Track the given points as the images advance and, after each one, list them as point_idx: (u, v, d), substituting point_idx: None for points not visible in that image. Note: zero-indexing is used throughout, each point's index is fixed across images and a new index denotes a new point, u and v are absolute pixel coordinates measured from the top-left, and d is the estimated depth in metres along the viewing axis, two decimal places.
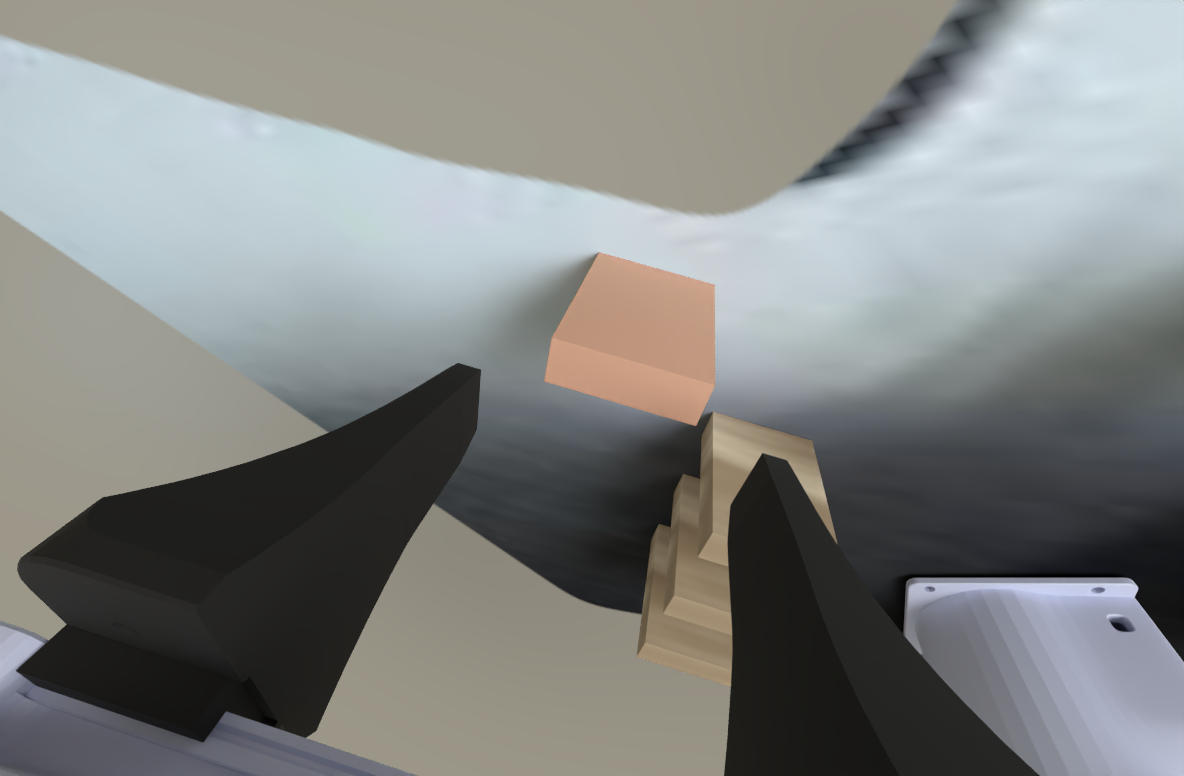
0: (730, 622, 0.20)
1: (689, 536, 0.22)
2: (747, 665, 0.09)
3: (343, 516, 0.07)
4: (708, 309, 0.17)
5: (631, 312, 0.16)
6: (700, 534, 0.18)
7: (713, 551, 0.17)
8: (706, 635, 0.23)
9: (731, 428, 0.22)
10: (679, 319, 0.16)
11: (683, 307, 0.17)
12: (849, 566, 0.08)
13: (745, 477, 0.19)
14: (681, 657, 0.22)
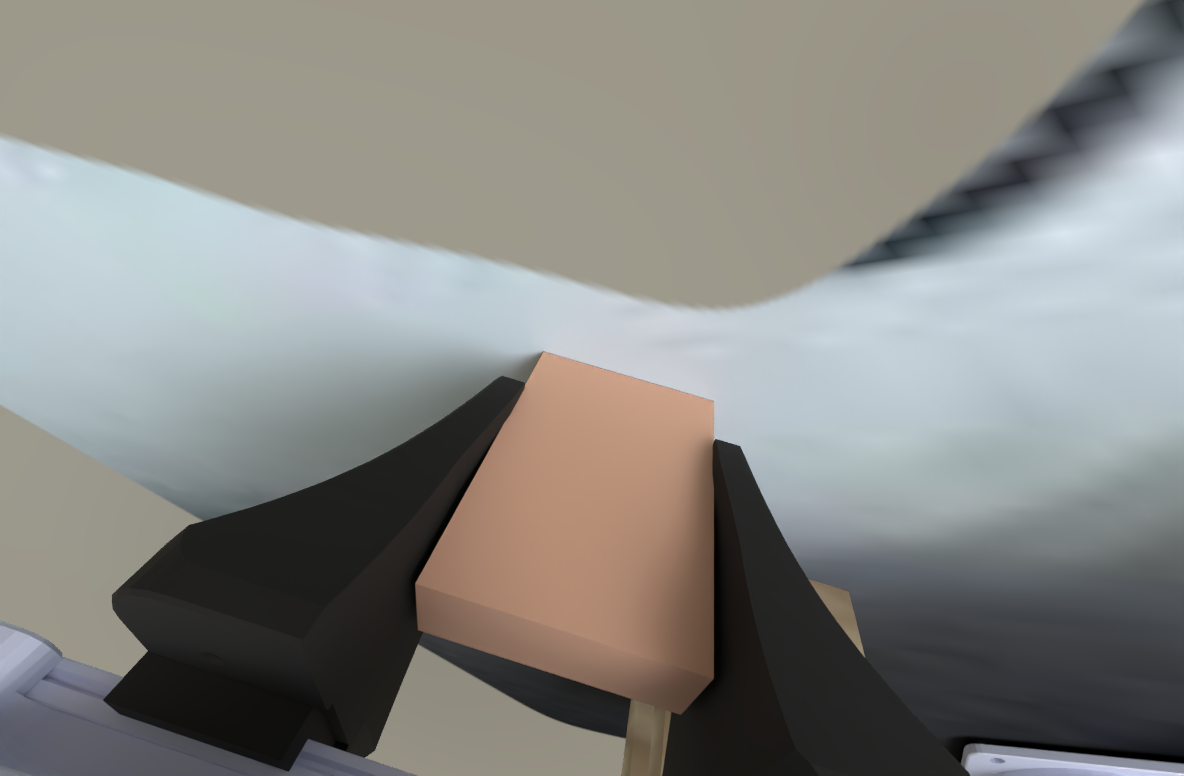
0: None
1: None
2: None
3: (413, 538, 0.07)
4: (704, 460, 0.11)
5: (576, 485, 0.10)
6: None
7: None
8: None
9: None
10: (655, 493, 0.10)
11: (664, 460, 0.11)
12: (786, 547, 0.08)
13: None
14: None
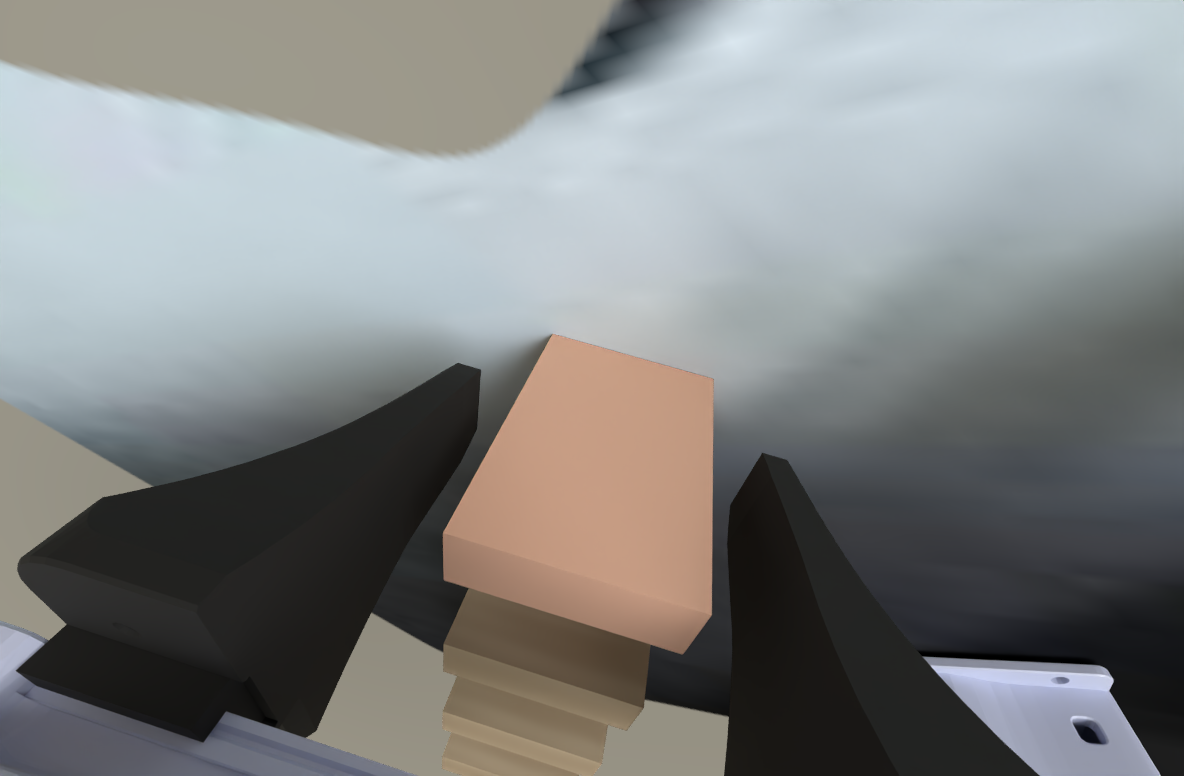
0: (527, 747, 0.14)
1: None
2: (747, 665, 0.09)
3: (343, 516, 0.07)
4: (703, 431, 0.12)
5: (586, 451, 0.10)
6: None
7: (458, 666, 0.12)
8: None
9: None
10: (658, 459, 0.11)
11: (667, 431, 0.11)
12: (849, 566, 0.08)
13: None
14: (492, 775, 0.17)
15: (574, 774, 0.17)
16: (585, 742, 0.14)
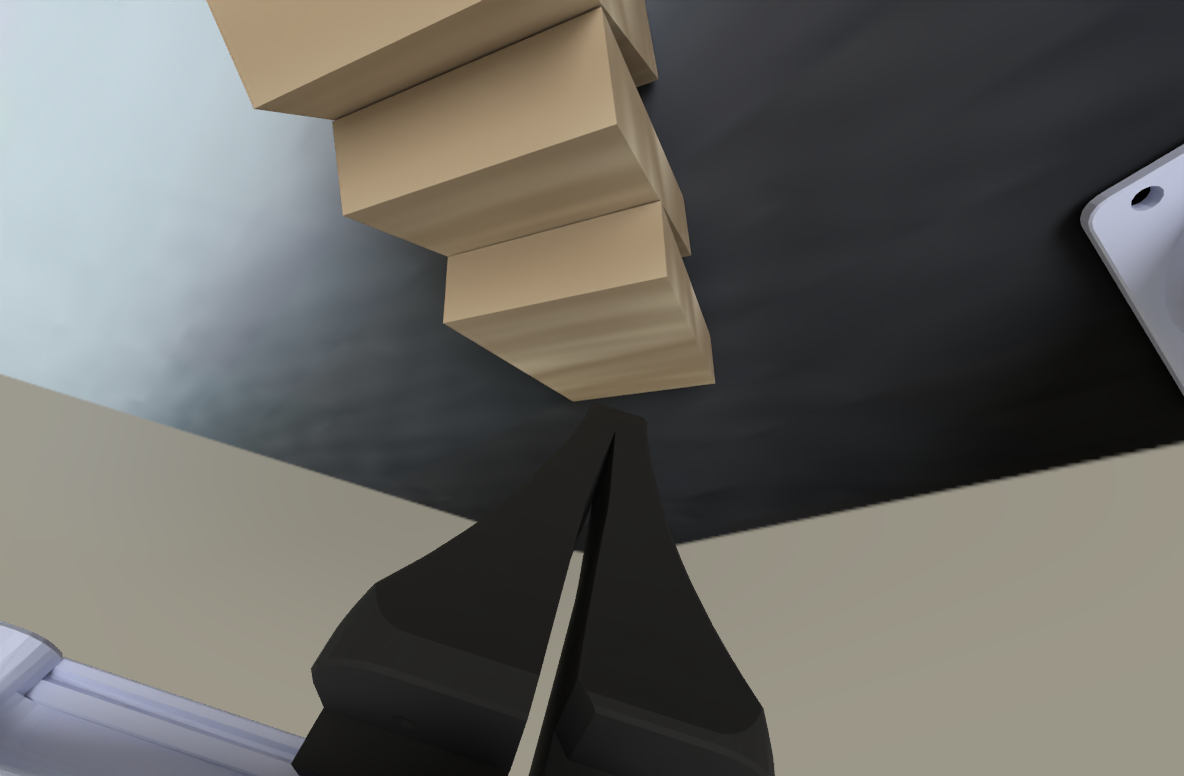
0: (471, 107, 0.07)
1: None
2: (574, 610, 0.09)
3: None
4: None
5: None
6: None
7: (252, 48, 0.06)
8: None
9: None
10: None
11: None
12: (657, 508, 0.08)
13: None
14: (521, 248, 0.10)
15: None
16: None
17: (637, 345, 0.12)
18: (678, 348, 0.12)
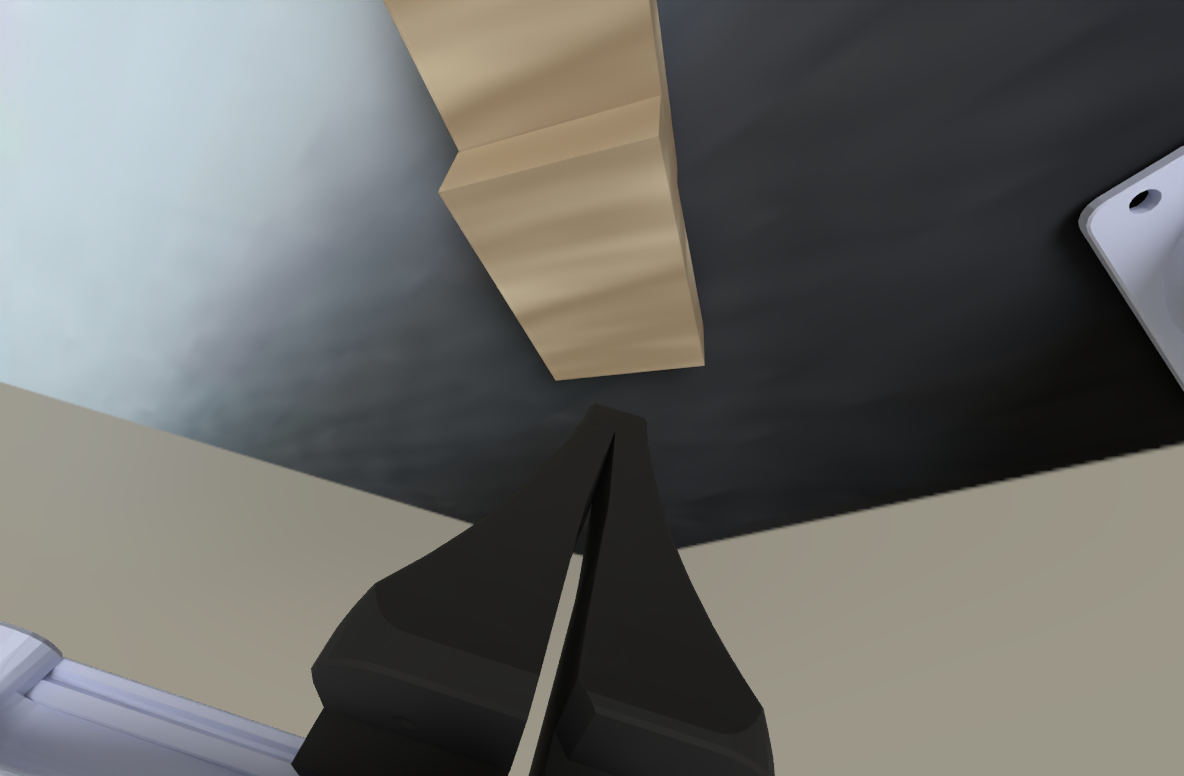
0: None
1: None
2: (574, 610, 0.09)
3: None
4: None
5: None
6: None
7: None
8: None
9: None
10: None
11: None
12: (657, 508, 0.08)
13: None
14: (527, 138, 0.10)
15: None
16: None
17: (625, 270, 0.11)
18: (667, 281, 0.12)
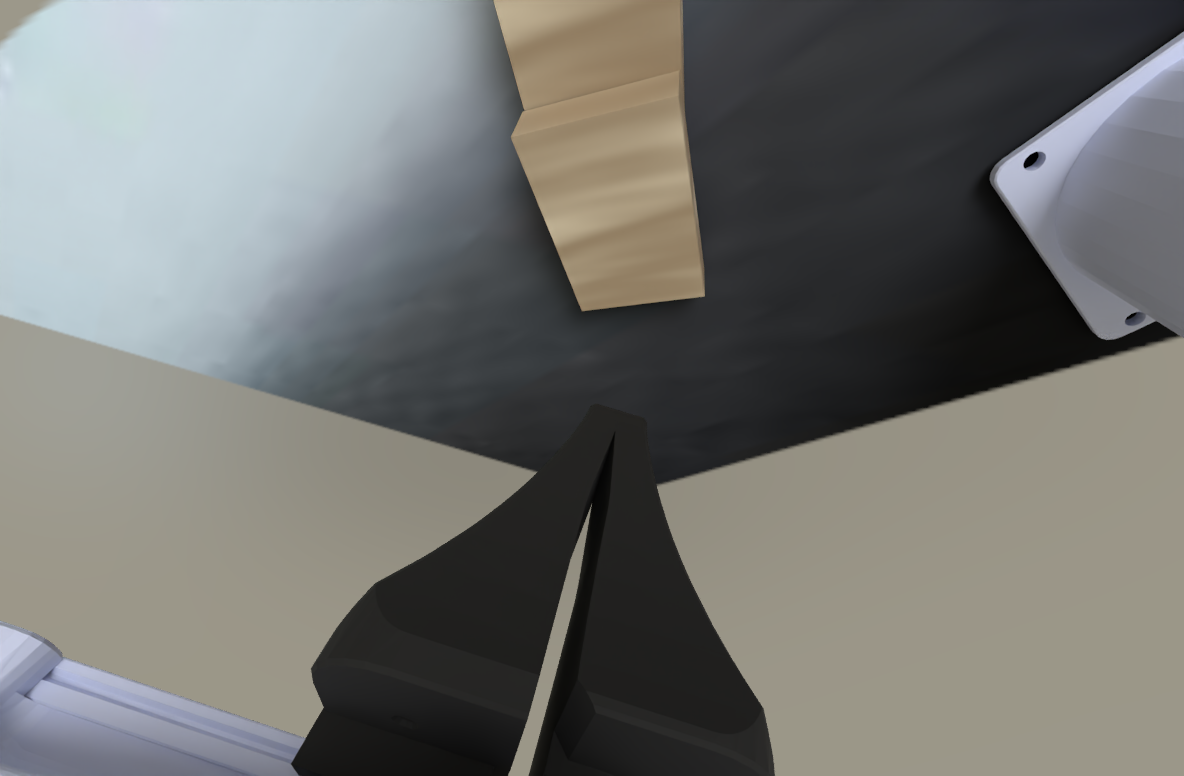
0: None
1: None
2: (574, 610, 0.09)
3: None
4: None
5: None
6: None
7: None
8: None
9: None
10: None
11: None
12: (657, 508, 0.08)
13: None
14: (578, 100, 0.14)
15: None
16: None
17: (647, 207, 0.15)
18: (678, 217, 0.15)
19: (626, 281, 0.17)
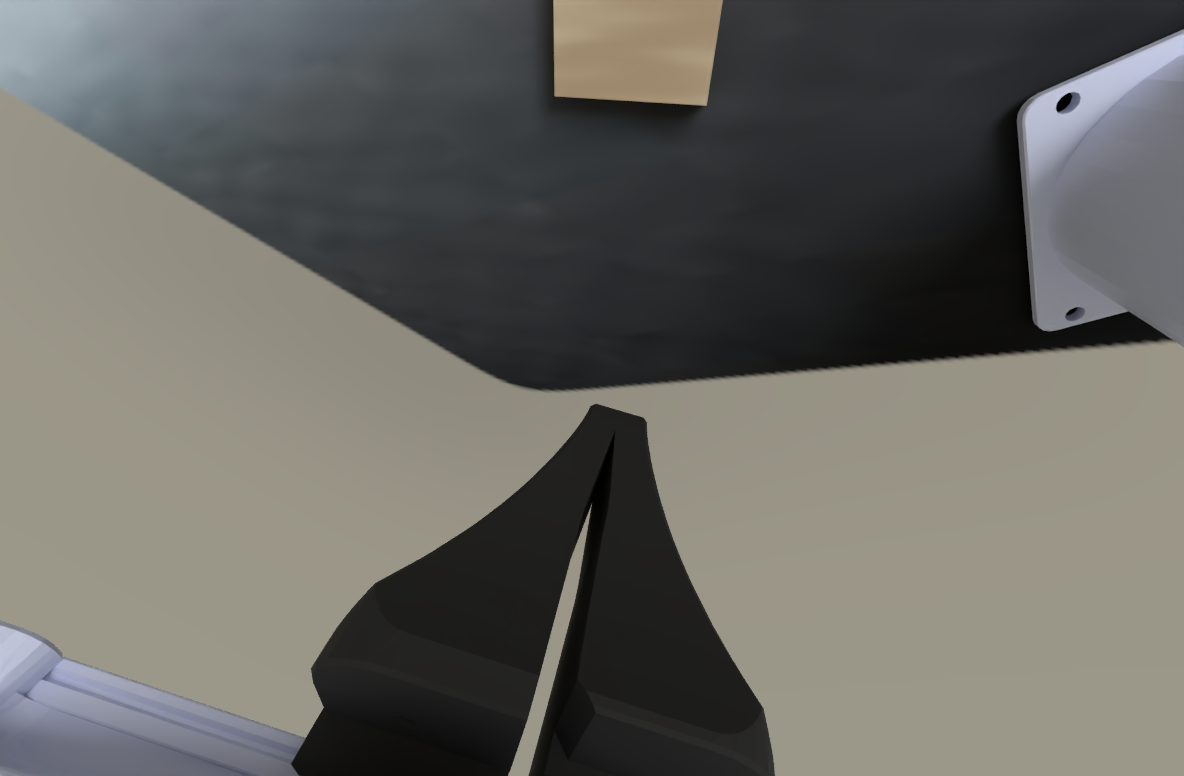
0: None
1: None
2: (574, 610, 0.09)
3: None
4: None
5: None
6: None
7: None
8: None
9: None
10: None
11: None
12: (657, 508, 0.08)
13: None
14: None
15: None
16: None
17: None
18: None
19: (621, 53, 0.14)
